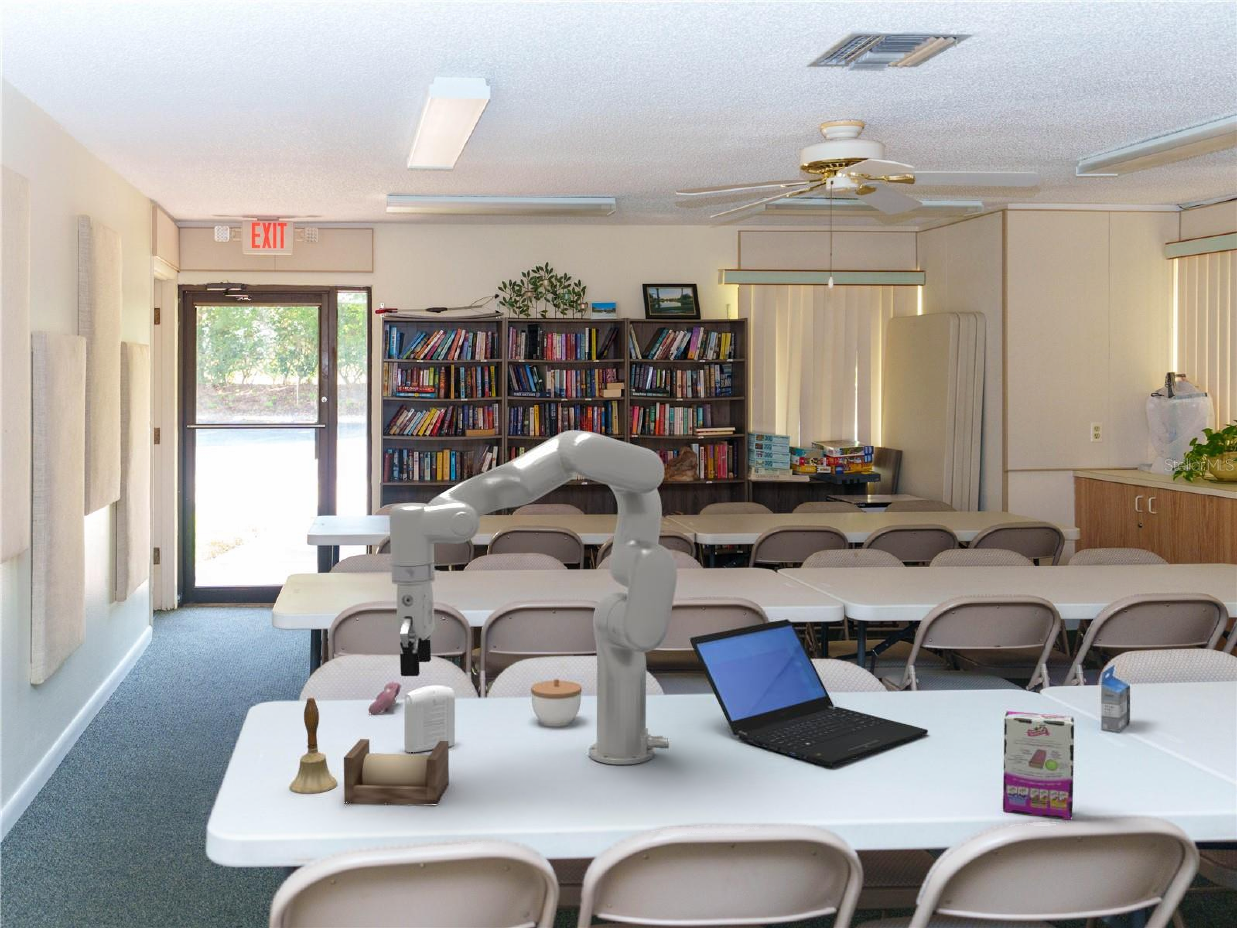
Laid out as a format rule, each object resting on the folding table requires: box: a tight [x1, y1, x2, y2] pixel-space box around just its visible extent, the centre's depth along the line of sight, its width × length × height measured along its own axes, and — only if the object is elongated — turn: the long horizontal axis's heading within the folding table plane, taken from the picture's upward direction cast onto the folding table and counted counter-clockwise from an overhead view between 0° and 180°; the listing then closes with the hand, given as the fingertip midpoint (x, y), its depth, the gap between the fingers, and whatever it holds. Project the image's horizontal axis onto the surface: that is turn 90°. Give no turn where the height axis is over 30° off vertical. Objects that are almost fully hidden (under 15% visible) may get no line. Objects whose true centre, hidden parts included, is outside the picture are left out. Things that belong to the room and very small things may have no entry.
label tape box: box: [1100, 665, 1131, 734], centre depth 248 cm, size 9×4×12 cm, turn 143°
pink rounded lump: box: [368, 681, 402, 715], centre depth 260 cm, size 10×5×7 cm, turn 0°
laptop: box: [689, 618, 929, 768], centre depth 244 cm, size 33×38×19 cm
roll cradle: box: [343, 738, 450, 805], centre depth 206 cm, size 16×10×8 cm, turn 87°
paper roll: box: [362, 752, 430, 787], centre depth 206 cm, size 11×6×6 cm, turn 87°
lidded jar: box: [530, 678, 583, 728], centre depth 250 cm, size 11×11×9 cm
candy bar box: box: [1002, 710, 1075, 820], centre depth 199 cm, size 11×5×16 cm, turn 69°
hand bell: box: [289, 697, 338, 795], centre depth 210 cm, size 8×8×16 cm
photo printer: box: [404, 684, 456, 754], centre depth 232 cm, size 10×4×12 cm, turn 123°
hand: (416, 668), depth 209 cm, fingers open, 9 cm apart
